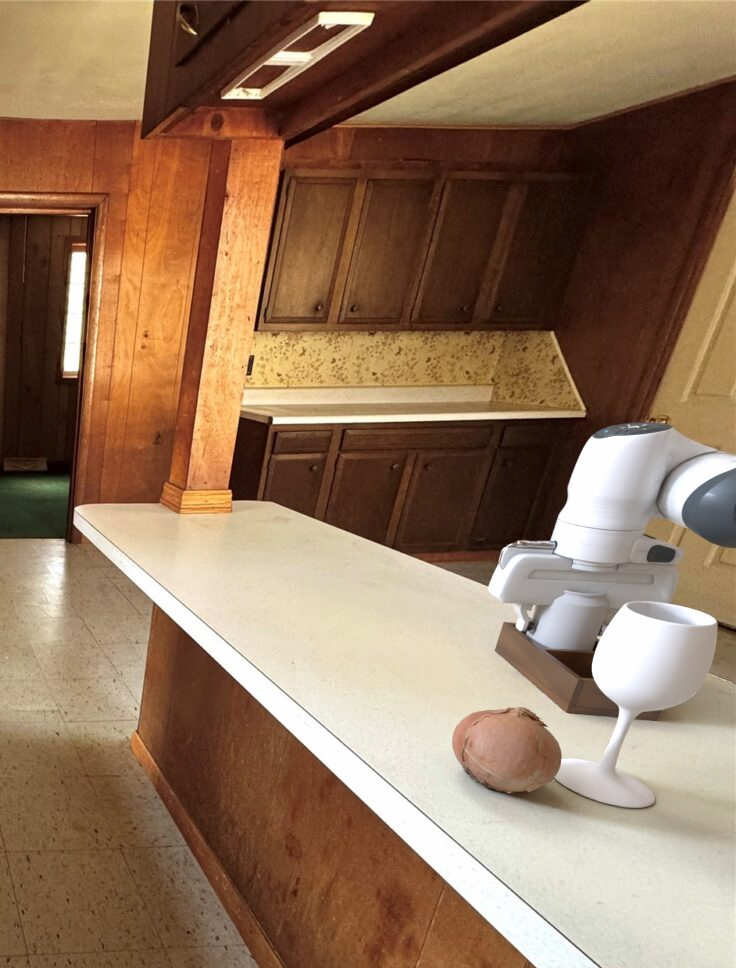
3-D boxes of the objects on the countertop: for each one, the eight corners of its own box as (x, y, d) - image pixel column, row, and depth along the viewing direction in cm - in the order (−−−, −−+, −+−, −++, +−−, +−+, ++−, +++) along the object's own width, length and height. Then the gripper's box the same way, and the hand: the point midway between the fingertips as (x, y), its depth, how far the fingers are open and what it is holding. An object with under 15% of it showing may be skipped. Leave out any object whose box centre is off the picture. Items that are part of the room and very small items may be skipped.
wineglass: (617, 816, 70) (695, 636, 62) (529, 768, 77) (588, 603, 70) (675, 799, 72) (757, 623, 64) (583, 754, 79) (646, 592, 72)
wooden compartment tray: (569, 655, 103) (579, 626, 101) (657, 720, 85) (672, 687, 84) (494, 650, 105) (503, 621, 103) (566, 712, 88) (578, 679, 86)
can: (507, 649, 103) (530, 577, 98) (557, 648, 102) (582, 576, 98) (546, 672, 96) (573, 595, 91) (600, 671, 95) (630, 594, 91)
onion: (491, 787, 79) (529, 711, 78) (562, 821, 70) (606, 735, 69) (417, 759, 79) (454, 683, 78) (477, 789, 70) (520, 703, 69)
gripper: (517, 545, 92) (489, 635, 97) (701, 552, 87) (662, 647, 92) (494, 533, 97) (469, 619, 103) (666, 539, 92) (630, 628, 97)
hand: (561, 632), depth 97 cm, fingers open, 8 cm apart
